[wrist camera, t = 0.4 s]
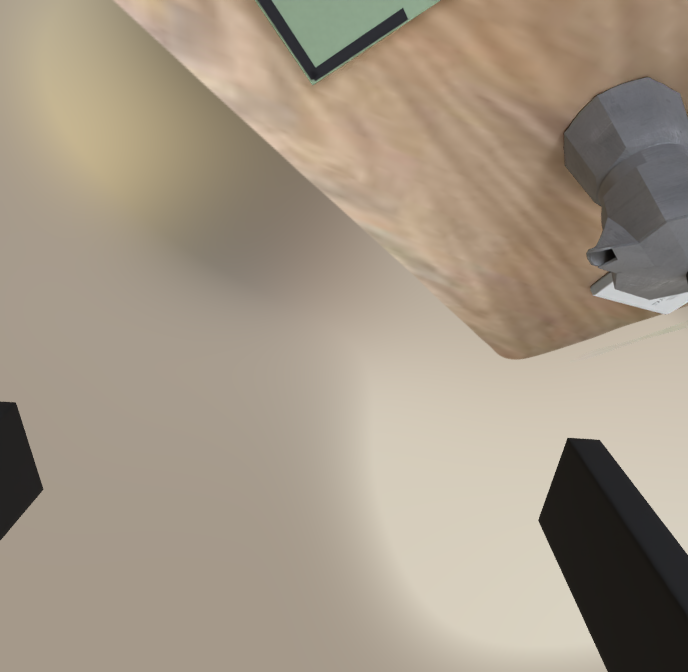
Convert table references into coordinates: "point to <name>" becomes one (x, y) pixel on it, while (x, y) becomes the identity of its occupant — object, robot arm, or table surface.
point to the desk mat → (336, 28)
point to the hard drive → (660, 305)
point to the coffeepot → (636, 184)
